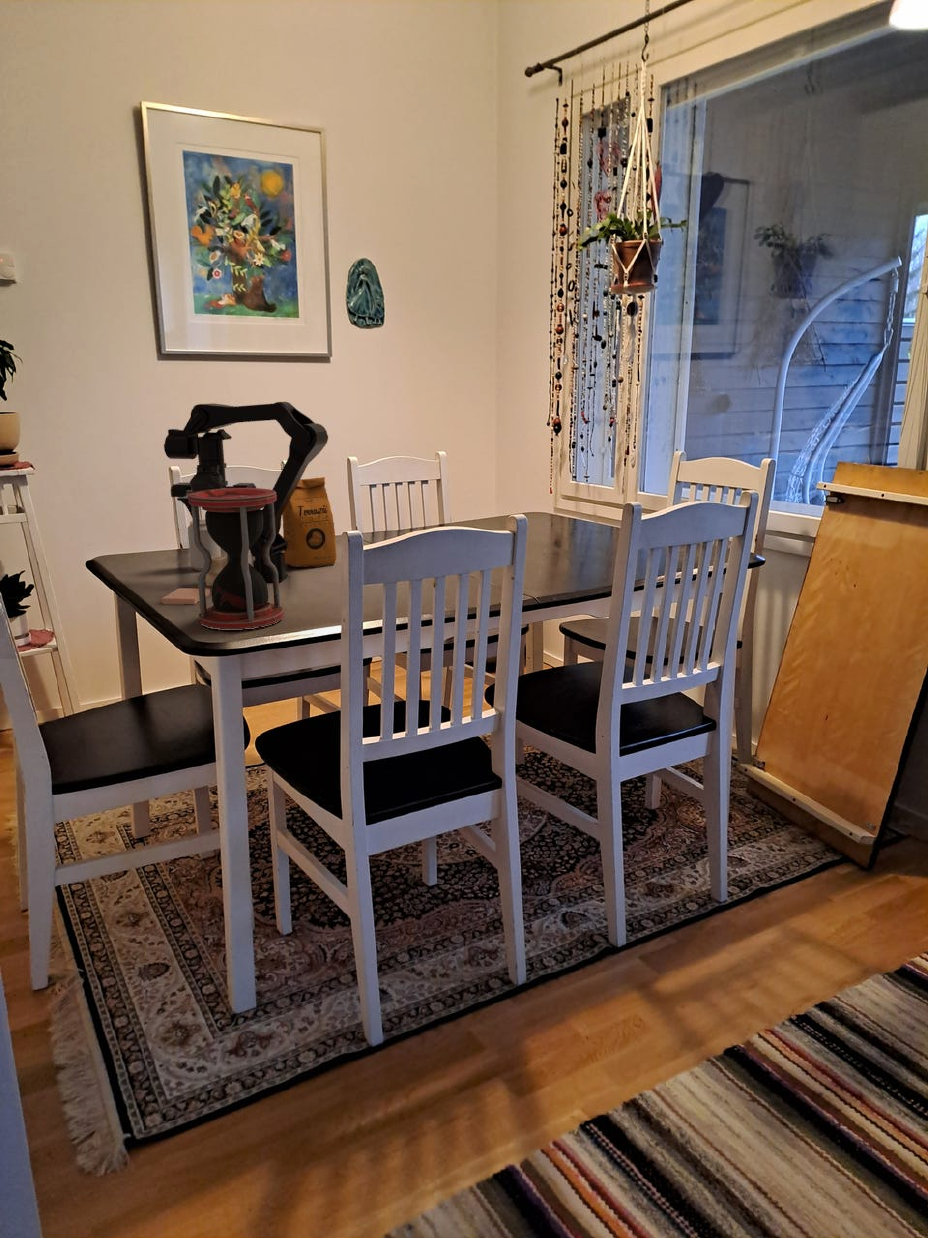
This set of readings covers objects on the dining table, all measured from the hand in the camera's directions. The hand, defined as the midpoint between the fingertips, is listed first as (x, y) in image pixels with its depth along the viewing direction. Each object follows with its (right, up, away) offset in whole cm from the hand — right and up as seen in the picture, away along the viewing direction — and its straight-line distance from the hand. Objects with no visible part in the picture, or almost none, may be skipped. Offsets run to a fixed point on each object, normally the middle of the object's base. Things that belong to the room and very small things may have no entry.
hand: (216, 526), depth 201 cm
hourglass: (+15, -22, -33) cm, 43 cm away
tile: (-1, -16, -13) cm, 21 cm away
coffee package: (+19, -8, +16) cm, 26 cm away
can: (-6, -9, +13) cm, 17 cm away
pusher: (+1, -14, -4) cm, 14 cm away
